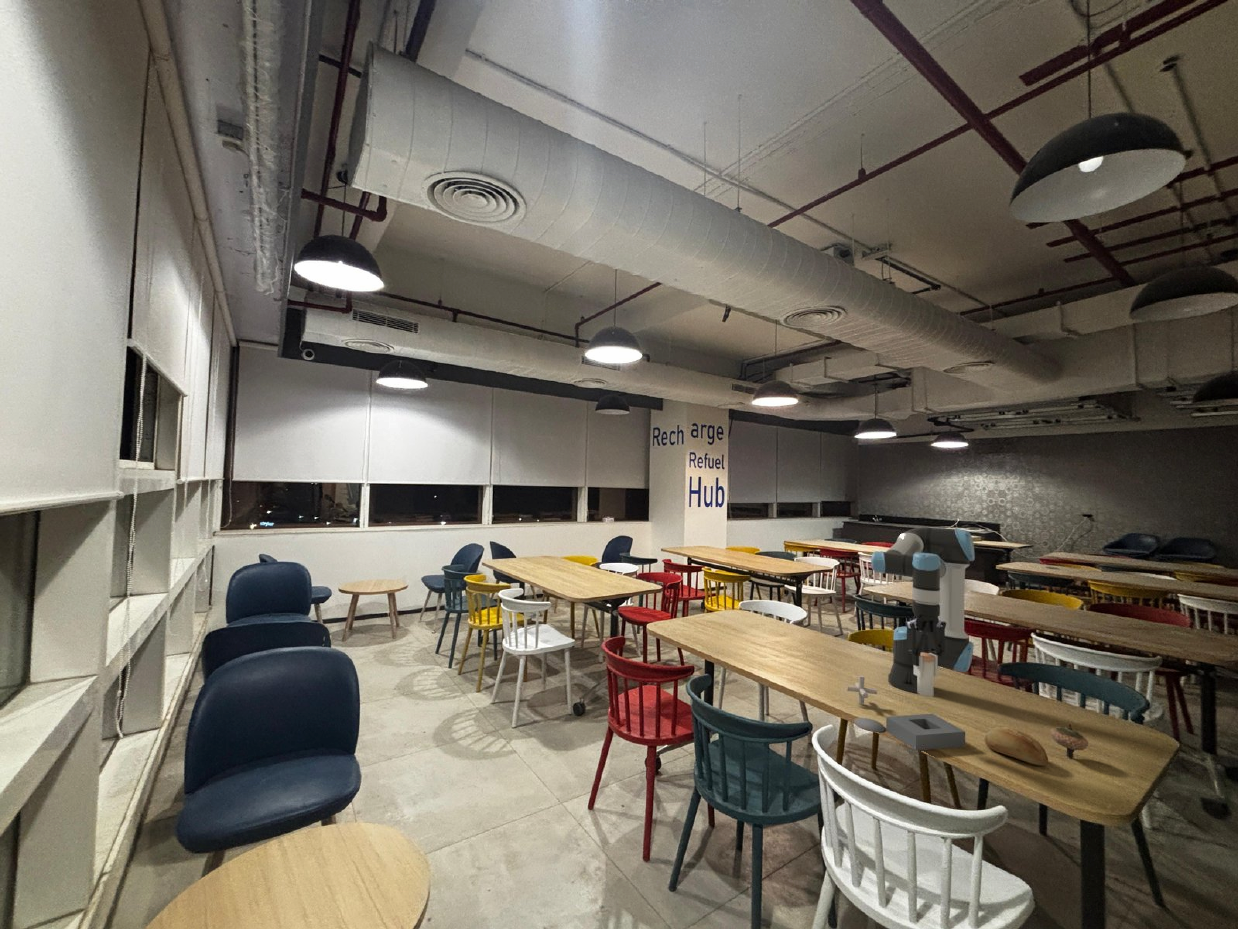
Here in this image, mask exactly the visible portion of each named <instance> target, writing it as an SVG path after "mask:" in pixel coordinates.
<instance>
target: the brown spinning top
mask: <svg viewBox="0 0 1238 929" xmlns="http://www.w3.org/2000/svg"><path fill="white" fill-rule="evenodd" d="M1050 736H1051V737H1052V739H1053V741H1055V742H1056V743H1057V744H1058V745H1060V746H1062V747H1064V748H1066V756H1065V757H1067V758H1070V759H1072V758H1073V759H1074V752H1075V751H1084V750H1085V749H1087V747H1088V746H1089V740H1088V739H1087V738H1086V736H1083V735H1082V734H1080V733H1079V731H1077V730H1074V729H1073V728H1072V724H1070V723H1069V725H1068V727H1064V726H1063V727H1062V726H1061V727H1054V728H1052V729H1051V730H1050Z"/></svg>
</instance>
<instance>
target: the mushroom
mask: <svg viewBox="0 0 1238 929" xmlns="http://www.w3.org/2000/svg"><path fill="white" fill-rule="evenodd" d="M920 656H922V657H923V673H922V677H921V678H920V677H918V676H917V694H918V695H921V696H925V697H929V698H933V697H934V694H935V693H934V692H935V691H934V689H935V687H934V682H935V680H934V678H935V676H934V661H935V656H934V655H932V654H929V653H924V652H921V654H920Z"/></svg>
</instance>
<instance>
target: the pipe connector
mask: <svg viewBox="0 0 1238 929" xmlns="http://www.w3.org/2000/svg"><path fill="white" fill-rule="evenodd" d="M854 685H855V686H853V685H846V688H845V690H846V692H854V693H858V703H857V704H858V705H860V706H864V705H865V699H868V698H869V695H871V694H872V695H877V694H878V690H877V688H871V687H865V676H864V675H858V681H857V682H856V683H855V684H854Z"/></svg>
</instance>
